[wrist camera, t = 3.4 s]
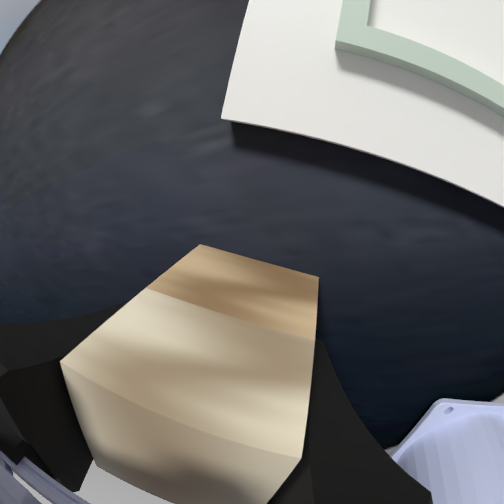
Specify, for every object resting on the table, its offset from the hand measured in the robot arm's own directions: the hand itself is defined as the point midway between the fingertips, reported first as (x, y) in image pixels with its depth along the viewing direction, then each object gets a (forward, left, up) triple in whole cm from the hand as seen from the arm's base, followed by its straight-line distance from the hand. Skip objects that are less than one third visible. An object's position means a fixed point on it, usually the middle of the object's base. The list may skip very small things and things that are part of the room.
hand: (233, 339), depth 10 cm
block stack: (0, 0, -2) cm, 2 cm away
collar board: (-5, -14, -2) cm, 15 cm away
